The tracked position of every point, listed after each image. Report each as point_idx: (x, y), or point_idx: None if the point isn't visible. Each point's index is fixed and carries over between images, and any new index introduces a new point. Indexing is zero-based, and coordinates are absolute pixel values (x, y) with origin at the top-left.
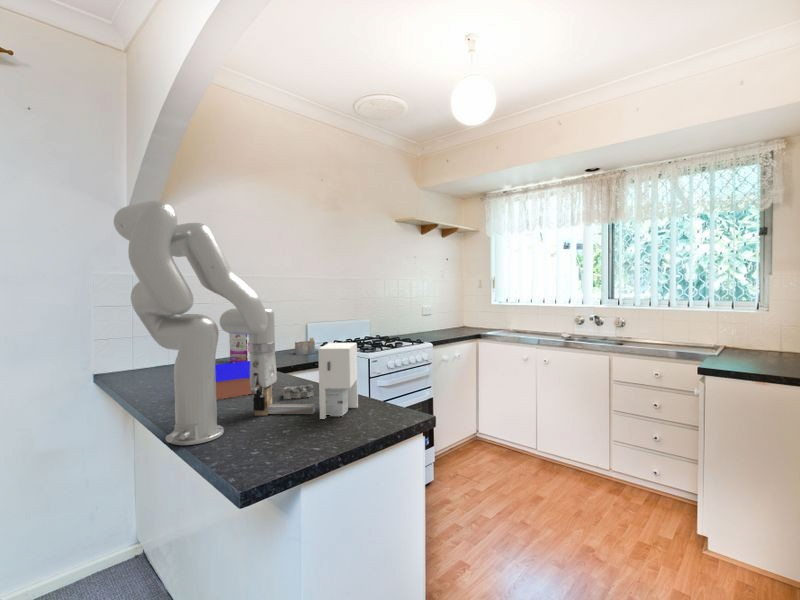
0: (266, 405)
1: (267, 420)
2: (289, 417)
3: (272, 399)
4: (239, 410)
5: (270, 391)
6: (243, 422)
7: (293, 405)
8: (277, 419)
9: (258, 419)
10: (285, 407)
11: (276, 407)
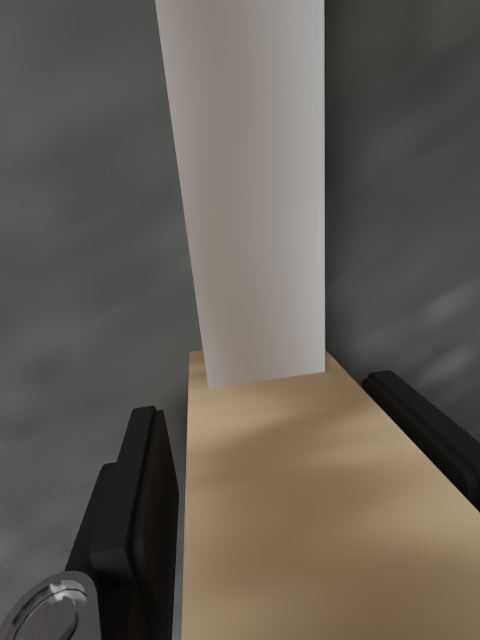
0: (354, 389)
1: (453, 262)
2: (381, 61)
3: (135, 439)
4: None
5: (277, 543)
6: (474, 417)
7: (243, 16)
8: (435, 177)
9: (418, 351)
10: (322, 137)
11: (321, 270)
